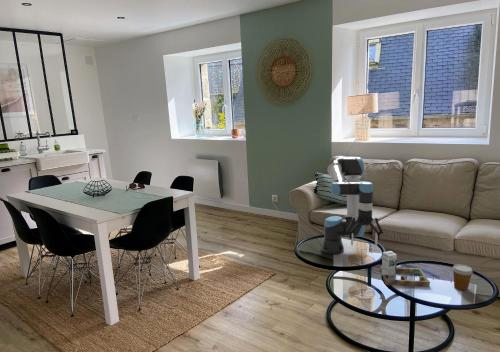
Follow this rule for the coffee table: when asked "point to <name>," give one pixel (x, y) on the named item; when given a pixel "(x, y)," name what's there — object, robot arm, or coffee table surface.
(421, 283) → the wooden tray
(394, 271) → the syrup box
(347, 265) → the coffee table surface
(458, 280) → the disposable coffee cup
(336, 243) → the robot arm
